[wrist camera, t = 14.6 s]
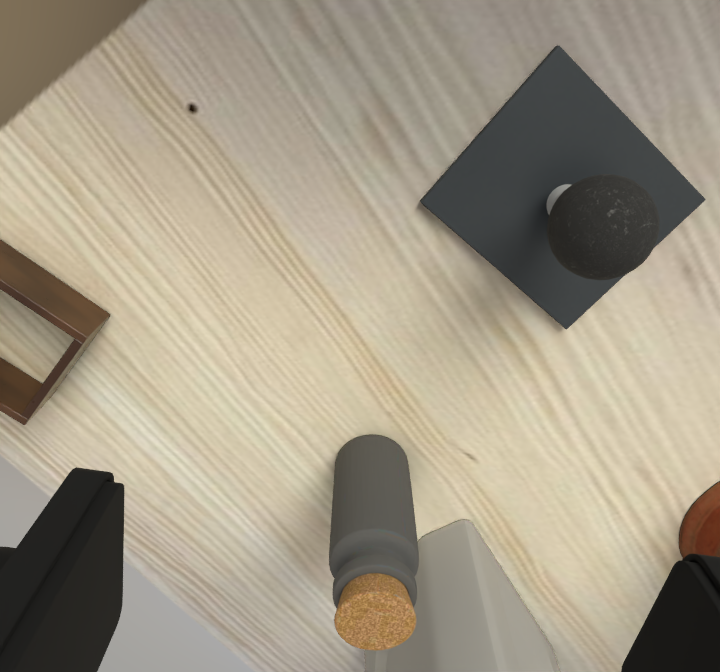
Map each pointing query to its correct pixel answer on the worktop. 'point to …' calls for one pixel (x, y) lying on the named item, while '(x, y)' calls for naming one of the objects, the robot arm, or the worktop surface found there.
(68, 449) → the worktop surface
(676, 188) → the mat
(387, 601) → the bottle
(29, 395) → the crate
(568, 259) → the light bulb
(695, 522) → the lantern
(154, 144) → the worktop surface
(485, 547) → the triangular concrete planter
